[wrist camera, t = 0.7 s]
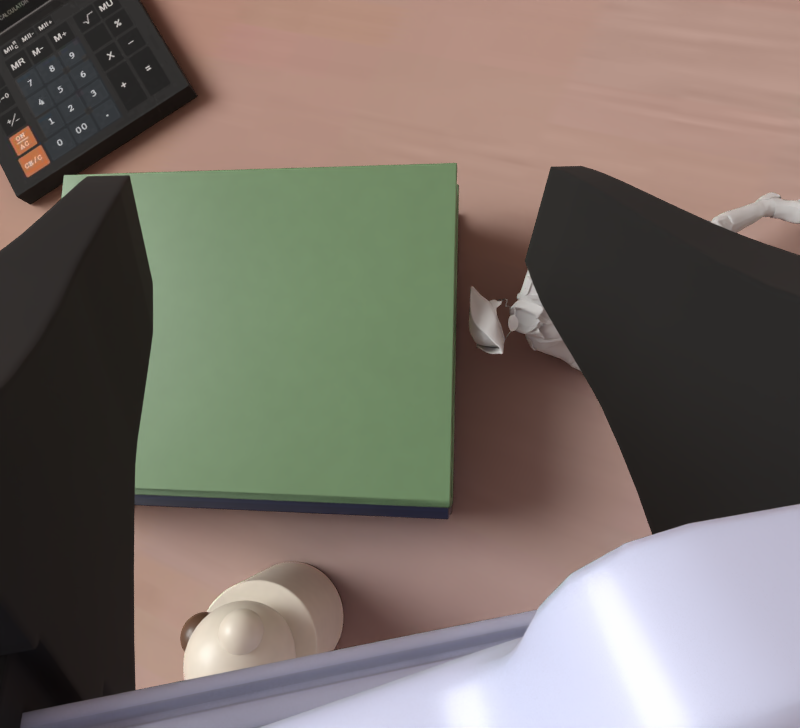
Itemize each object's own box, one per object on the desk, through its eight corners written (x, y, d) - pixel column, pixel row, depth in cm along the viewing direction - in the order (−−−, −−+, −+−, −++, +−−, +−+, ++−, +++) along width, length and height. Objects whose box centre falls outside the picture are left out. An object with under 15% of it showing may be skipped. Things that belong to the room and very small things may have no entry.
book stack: (455, 513, 25) (449, 525, 20) (88, 497, 27) (12, 504, 22) (460, 211, 26) (456, 162, 22) (117, 218, 29) (53, 174, 24)
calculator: (30, 204, 29) (-21, 175, 26) (-62, 23, 32) (-118, -21, 29) (197, 95, 29) (165, 55, 26) (93, -78, 31) (52, -134, 28)
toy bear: (359, 587, 25) (310, 638, 18) (319, 690, 24) (252, 786, 17) (264, 543, 25) (179, 576, 18) (223, 643, 25) (120, 716, 18)
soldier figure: (789, 351, 25) (535, 471, 22) (694, 305, 29) (467, 401, 26) (832, 155, 21) (523, 271, 17) (713, 132, 24) (443, 223, 21)
